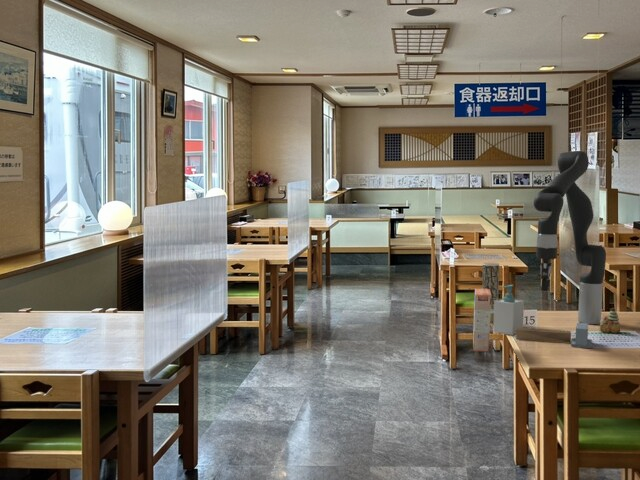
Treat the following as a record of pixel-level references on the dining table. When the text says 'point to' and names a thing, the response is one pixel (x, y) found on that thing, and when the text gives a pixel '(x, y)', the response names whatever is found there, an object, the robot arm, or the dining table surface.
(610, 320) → the ornament
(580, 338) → the fulcrum ridge
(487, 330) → the cracker box
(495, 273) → the bark textured block
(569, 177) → the robot arm
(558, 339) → the walnut bar
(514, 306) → the soap bottle
